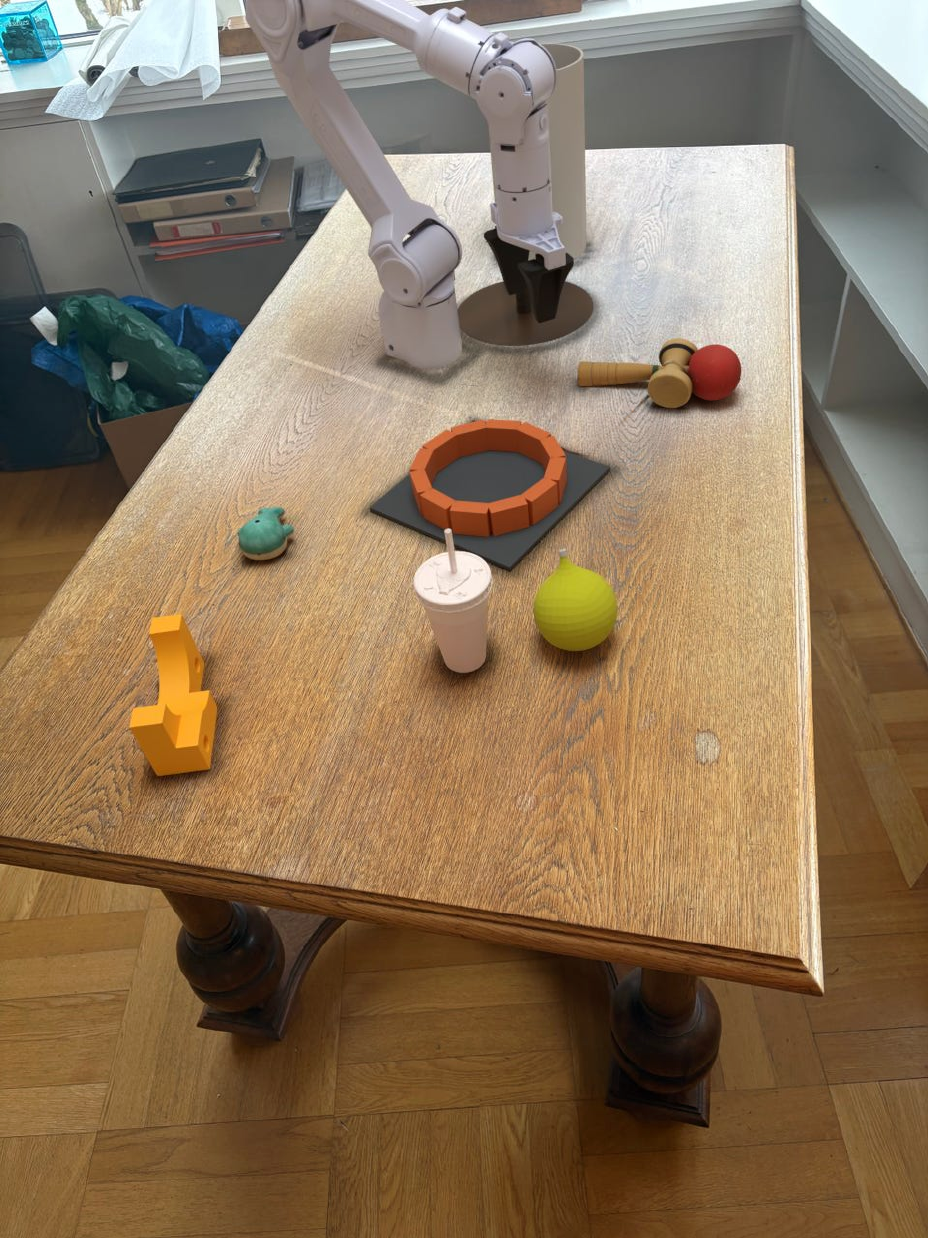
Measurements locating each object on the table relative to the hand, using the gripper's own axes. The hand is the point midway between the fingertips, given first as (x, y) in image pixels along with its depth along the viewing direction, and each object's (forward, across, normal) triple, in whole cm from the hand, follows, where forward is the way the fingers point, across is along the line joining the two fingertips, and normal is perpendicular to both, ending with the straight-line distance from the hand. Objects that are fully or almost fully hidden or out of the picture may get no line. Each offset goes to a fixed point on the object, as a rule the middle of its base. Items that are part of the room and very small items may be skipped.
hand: (531, 305), depth 106 cm
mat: (+9, -17, +13) cm, 23 cm away
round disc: (+9, +15, -5) cm, 18 cm away
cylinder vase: (+10, +30, -15) cm, 35 cm away
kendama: (+10, -10, -10) cm, 17 cm away
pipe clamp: (+10, -32, +48) cm, 59 cm away
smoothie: (+10, -37, +25) cm, 46 cm away
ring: (+9, -17, +13) cm, 23 cm away
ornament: (+10, -40, +15) cm, 44 cm away
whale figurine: (+10, -13, +36) cm, 40 cm away
